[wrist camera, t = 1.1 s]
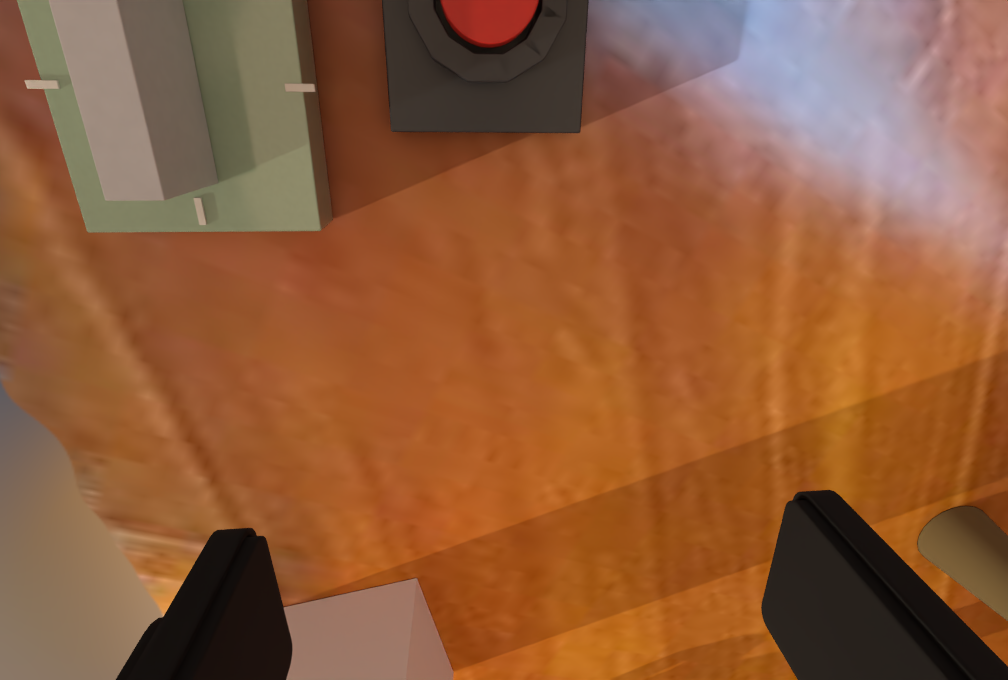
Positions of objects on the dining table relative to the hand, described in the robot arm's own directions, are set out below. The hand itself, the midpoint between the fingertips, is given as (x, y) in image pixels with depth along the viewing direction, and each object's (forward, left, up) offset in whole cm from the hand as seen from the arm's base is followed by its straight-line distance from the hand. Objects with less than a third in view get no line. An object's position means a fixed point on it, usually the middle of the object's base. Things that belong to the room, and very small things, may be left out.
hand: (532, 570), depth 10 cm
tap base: (-8, -15, -25) cm, 30 cm away
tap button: (-12, 0, -22) cm, 25 cm away
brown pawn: (+26, +40, -25) cm, 54 cm away
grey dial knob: (-8, -15, -22) cm, 28 cm away
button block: (-12, 0, -25) cm, 28 cm away
